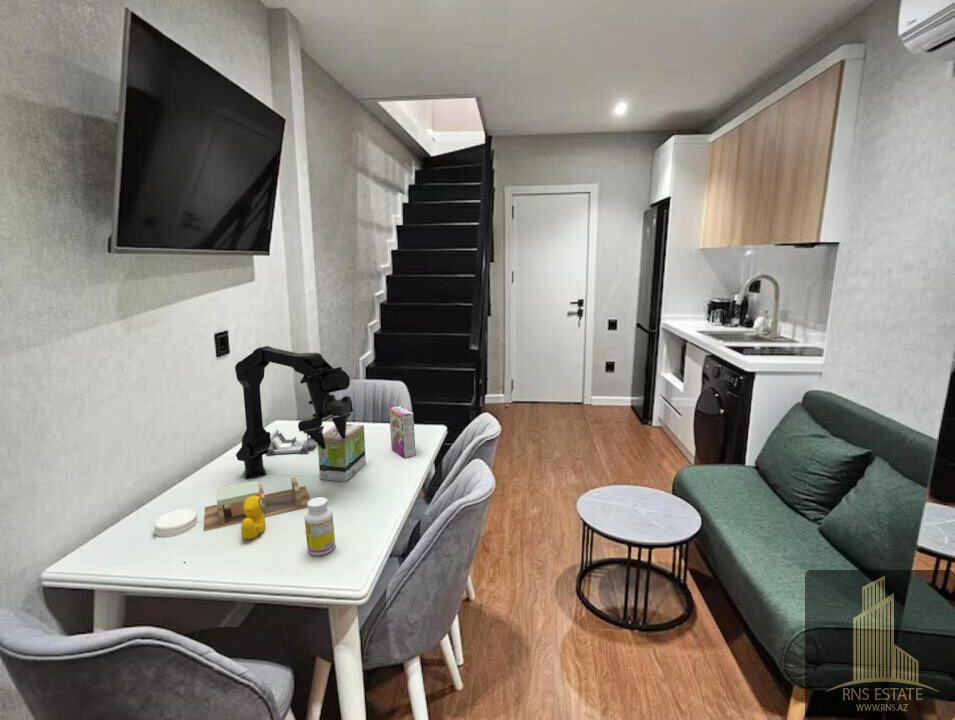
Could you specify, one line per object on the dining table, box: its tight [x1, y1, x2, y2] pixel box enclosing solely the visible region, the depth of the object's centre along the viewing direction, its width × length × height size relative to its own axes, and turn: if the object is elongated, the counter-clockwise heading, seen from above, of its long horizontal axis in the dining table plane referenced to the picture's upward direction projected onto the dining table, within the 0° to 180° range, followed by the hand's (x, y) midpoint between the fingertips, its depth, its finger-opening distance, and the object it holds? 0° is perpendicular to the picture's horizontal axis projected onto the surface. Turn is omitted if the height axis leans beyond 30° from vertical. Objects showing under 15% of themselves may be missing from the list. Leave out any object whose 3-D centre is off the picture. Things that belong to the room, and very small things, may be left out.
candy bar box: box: [388, 405, 417, 459], centre depth 183 cm, size 11×5×16 cm, turn 34°
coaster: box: [153, 508, 199, 538], centre depth 135 cm, size 10×10×4 cm
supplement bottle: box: [304, 496, 336, 556], centre depth 123 cm, size 7×7×13 cm
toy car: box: [265, 429, 317, 457], centre depth 189 cm, size 18×10×12 cm
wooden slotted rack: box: [203, 477, 311, 533], centre depth 144 cm, size 15×28×6 cm, turn 117°
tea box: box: [317, 423, 367, 482], centre depth 168 cm, size 15×10×15 cm, turn 168°
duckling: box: [240, 493, 266, 540], centre depth 131 cm, size 11×5×10 cm, turn 6°
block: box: [230, 501, 245, 517], centre depth 142 cm, size 4×4×4 cm
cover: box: [216, 480, 259, 506], centre depth 141 cm, size 8×11×2 cm
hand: (334, 443), depth 152 cm, fingers open, 9 cm apart
